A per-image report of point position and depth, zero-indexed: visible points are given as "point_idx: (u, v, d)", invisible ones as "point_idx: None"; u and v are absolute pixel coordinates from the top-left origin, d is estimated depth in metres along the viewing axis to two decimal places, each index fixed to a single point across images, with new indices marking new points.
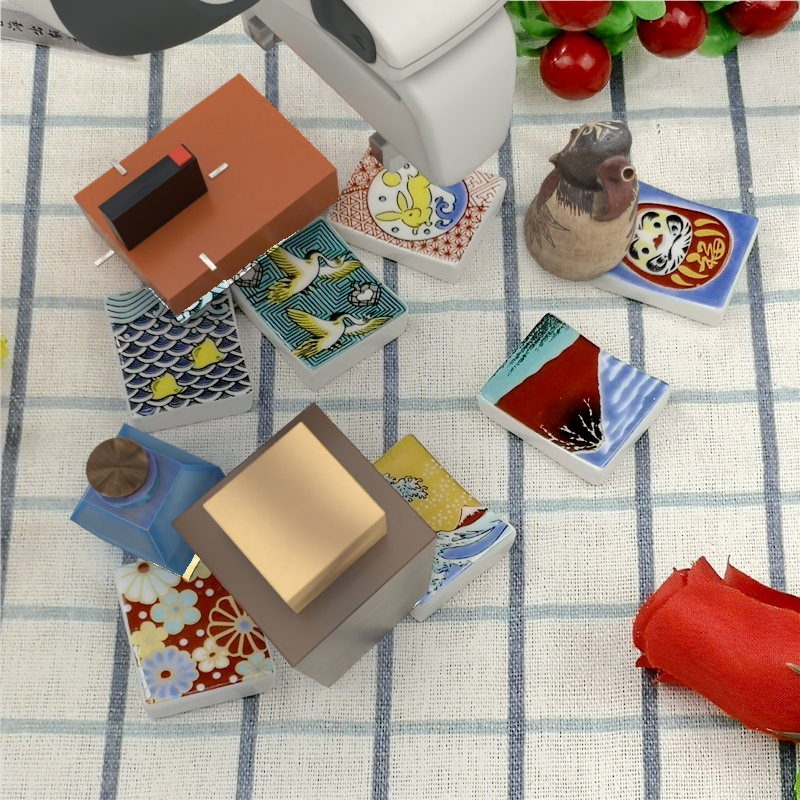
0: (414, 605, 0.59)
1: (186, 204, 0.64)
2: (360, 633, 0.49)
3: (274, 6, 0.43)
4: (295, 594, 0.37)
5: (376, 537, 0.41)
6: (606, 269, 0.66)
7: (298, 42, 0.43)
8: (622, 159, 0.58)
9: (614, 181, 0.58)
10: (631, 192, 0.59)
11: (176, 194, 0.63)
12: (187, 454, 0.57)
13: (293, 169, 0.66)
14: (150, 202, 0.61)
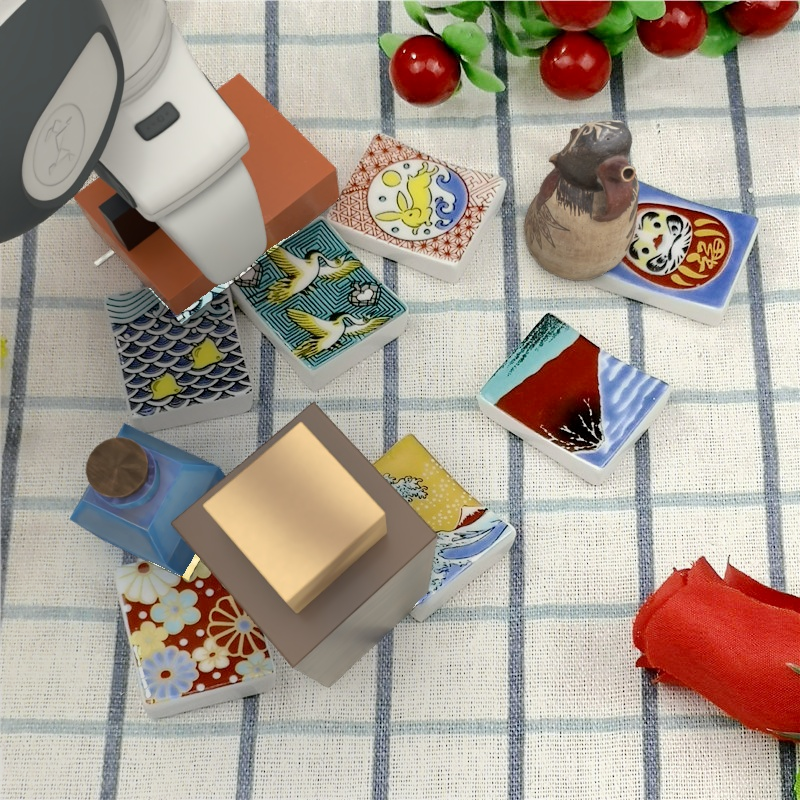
0: (414, 605, 0.59)
1: None
2: (360, 633, 0.49)
3: None
4: (295, 594, 0.37)
5: (376, 537, 0.41)
6: (606, 269, 0.66)
7: None
8: (622, 159, 0.58)
9: (614, 181, 0.58)
10: (631, 192, 0.59)
11: None
12: (187, 454, 0.57)
13: (293, 169, 0.66)
14: None
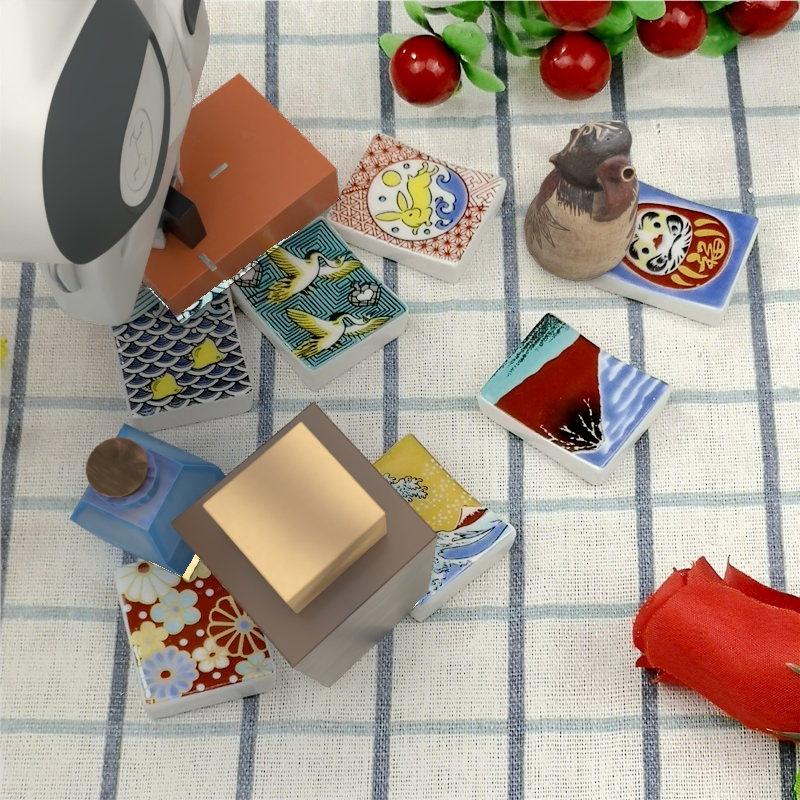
0: (414, 605, 0.59)
1: None
2: (360, 633, 0.49)
3: None
4: (295, 594, 0.37)
5: (376, 537, 0.41)
6: (606, 269, 0.66)
7: (171, 156, 0.59)
8: (622, 159, 0.58)
9: (614, 181, 0.58)
10: (631, 192, 0.59)
11: None
12: (187, 454, 0.57)
13: (293, 169, 0.66)
14: None
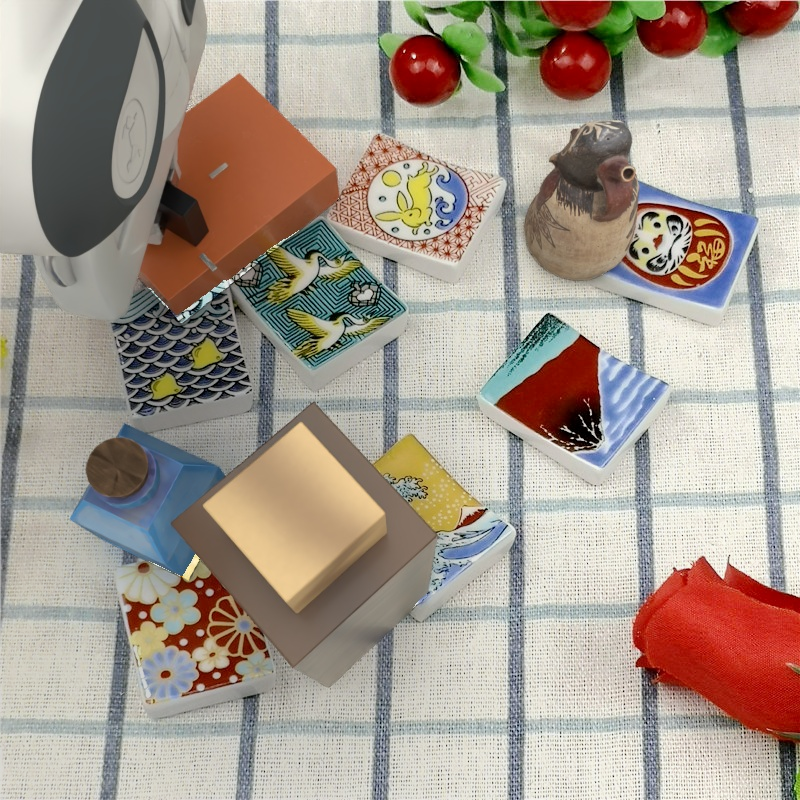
0: (414, 605, 0.59)
1: None
2: (360, 633, 0.49)
3: (157, 162, 0.57)
4: (295, 594, 0.37)
5: (376, 537, 0.41)
6: (606, 269, 0.66)
7: (168, 149, 0.58)
8: (622, 159, 0.58)
9: (614, 181, 0.58)
10: (631, 192, 0.59)
11: None
12: (187, 454, 0.57)
13: (293, 169, 0.66)
14: None
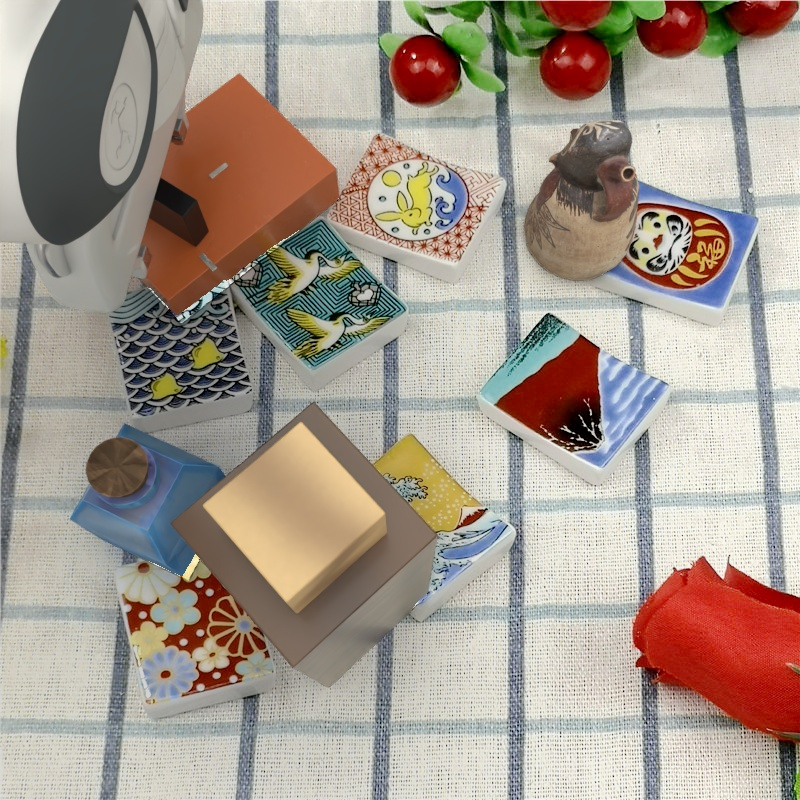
0: (414, 605, 0.59)
1: None
2: (360, 633, 0.49)
3: (153, 151, 0.56)
4: (295, 594, 0.37)
5: (376, 537, 0.41)
6: (606, 269, 0.66)
7: (164, 138, 0.57)
8: (622, 159, 0.58)
9: (614, 181, 0.58)
10: (631, 192, 0.59)
11: None
12: (187, 454, 0.57)
13: (293, 169, 0.66)
14: None
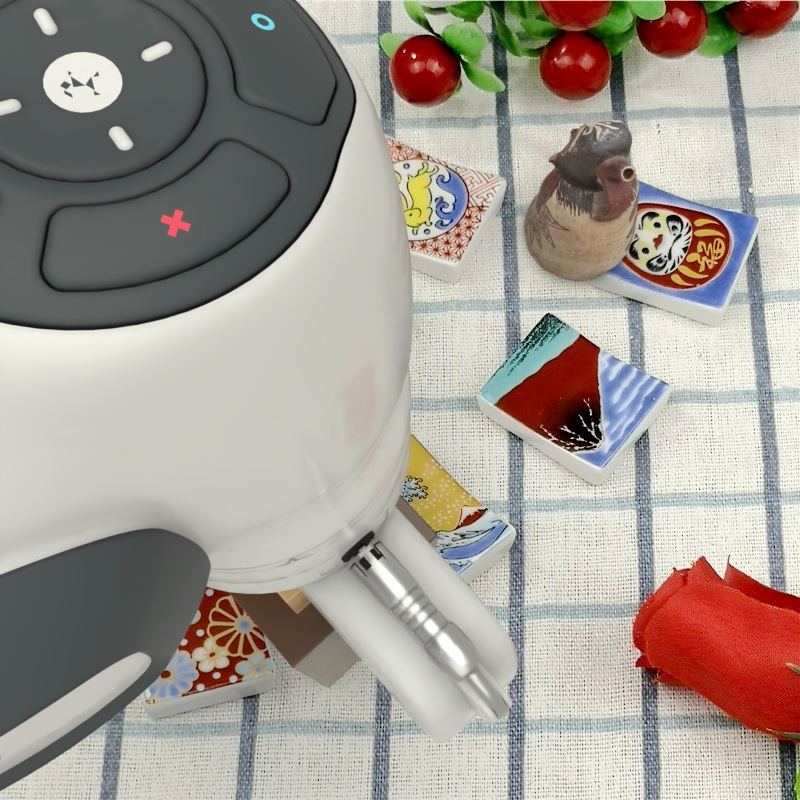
0: None
1: None
2: None
3: None
4: (295, 594, 0.37)
5: None
6: (606, 269, 0.66)
7: None
8: (622, 159, 0.58)
9: (614, 181, 0.58)
10: (631, 192, 0.59)
11: None
12: None
13: None
14: None
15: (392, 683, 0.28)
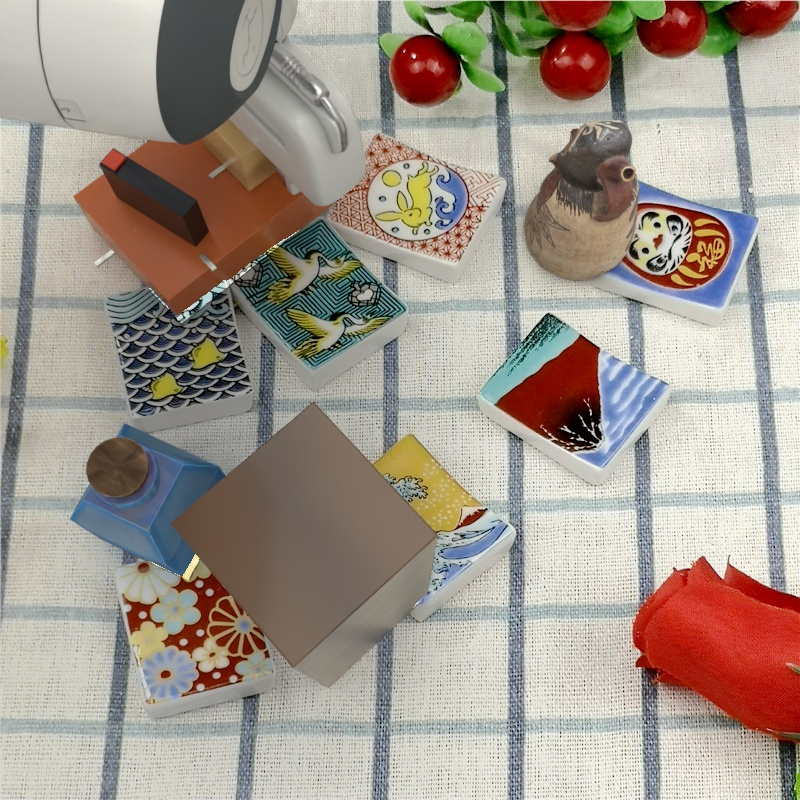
0: (414, 605, 0.59)
1: None
2: (360, 633, 0.49)
3: None
4: (247, 154, 0.61)
5: None
6: (606, 269, 0.66)
7: None
8: (622, 159, 0.58)
9: (614, 181, 0.58)
10: (631, 192, 0.59)
11: None
12: (187, 454, 0.57)
13: None
14: None
15: (284, 119, 0.52)
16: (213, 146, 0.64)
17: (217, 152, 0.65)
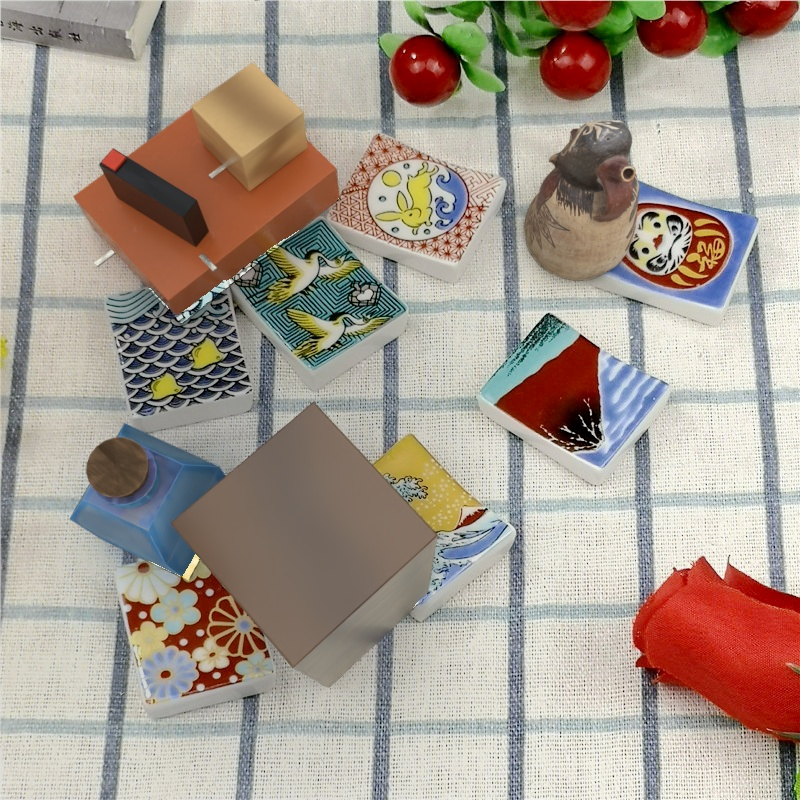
0: (414, 605, 0.59)
1: None
2: (360, 633, 0.49)
3: None
4: (247, 154, 0.61)
5: (300, 143, 0.65)
6: (606, 269, 0.66)
7: None
8: (622, 159, 0.58)
9: (614, 181, 0.58)
10: (631, 192, 0.59)
11: None
12: (187, 454, 0.57)
13: (293, 169, 0.66)
14: None
15: None
16: (213, 146, 0.64)
17: (217, 152, 0.65)
